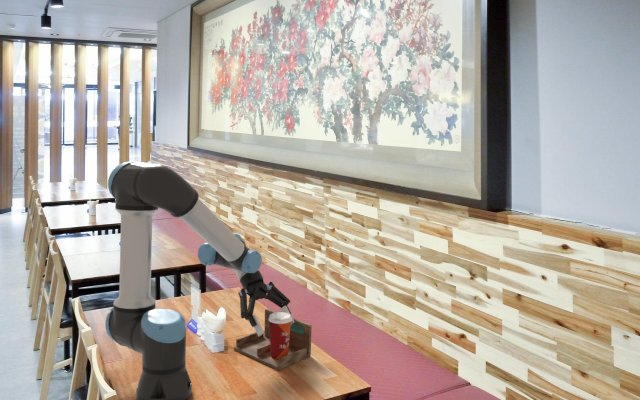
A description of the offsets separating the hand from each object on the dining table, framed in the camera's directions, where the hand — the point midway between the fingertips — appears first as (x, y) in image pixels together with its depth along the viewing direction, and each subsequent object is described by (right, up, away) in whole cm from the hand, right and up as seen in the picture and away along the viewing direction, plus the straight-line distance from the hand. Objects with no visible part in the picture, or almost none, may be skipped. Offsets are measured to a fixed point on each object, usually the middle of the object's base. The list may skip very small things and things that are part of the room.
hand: (277, 329), depth 174 cm
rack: (-2, -9, +5) cm, 10 cm away
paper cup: (+1, -9, 0) cm, 9 cm away
